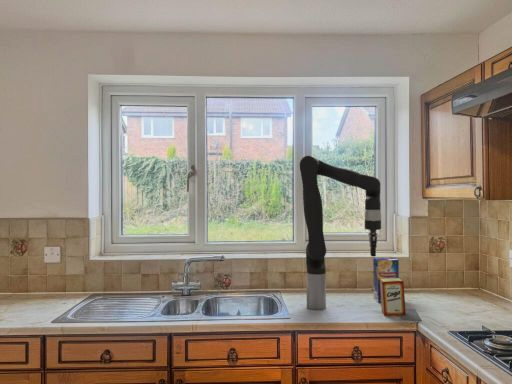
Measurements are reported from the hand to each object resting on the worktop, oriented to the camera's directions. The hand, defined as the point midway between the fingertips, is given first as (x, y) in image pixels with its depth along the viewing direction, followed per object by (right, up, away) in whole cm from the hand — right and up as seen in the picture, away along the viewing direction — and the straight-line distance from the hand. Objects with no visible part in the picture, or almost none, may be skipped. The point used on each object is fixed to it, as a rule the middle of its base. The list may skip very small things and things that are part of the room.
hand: (373, 255), depth 194 cm
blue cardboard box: (+13, -27, +21) cm, 37 cm away
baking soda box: (+9, -27, -2) cm, 28 cm away
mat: (+16, -27, -3) cm, 31 cm away
